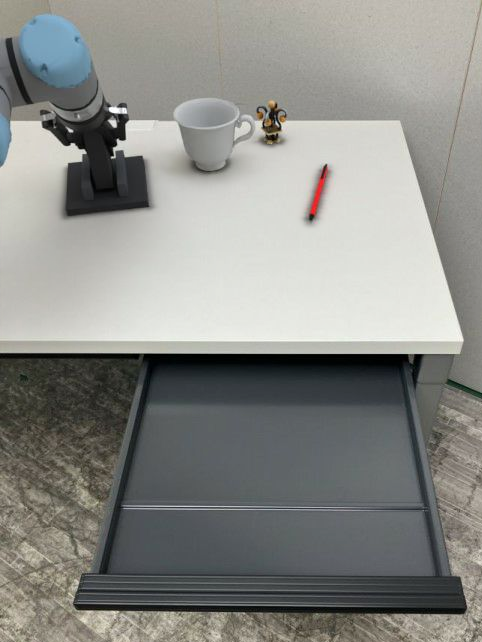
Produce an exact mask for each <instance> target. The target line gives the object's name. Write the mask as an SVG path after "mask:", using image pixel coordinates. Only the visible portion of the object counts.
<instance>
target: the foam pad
mask: <svg viewBox="0 0 482 642" xmlns="http://www.w3.org/2000/svg"><path fill="white" fill-rule="evenodd" d="M82 134H83V138H84V142H85V146H86V150H87V153H86V154H88V158H89V162H90V166H91V170H92V174H93V178H94V182H95V185H96V189H106V188H114V182H113V164H112V157H110V155H109V152H108V150H107V148H106V145H105V139H104V137H103V136H102V134H101V133H100V132H96V130H95V129H94V130H91V131H88V132H82Z"/></svg>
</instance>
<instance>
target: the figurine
mask: <svg viewBox="0 0 482 642" xmlns="http://www.w3.org/2000/svg"><path fill="white" fill-rule="evenodd" d="M267 105H268V108H269V109H270V110H268V109H267V107H266V106H265V105H262V104H259V105H257V106H256V108H255V112H256V118H257V119H258V120H262V119H263V118H264V119H263V120H262V122H261V125H262V126H260V129H261V131H262V132H264V133H265V137H264V138H263V141H266V144H268V145H272V144H274V143H278V144H279V142H280V141H281V139H280V138H279V133H283V132H284V130H283V129H282V124H284V123H286V122H287V118H288V110H287V109H285V108H281V107H280V108H278V102H277V101H274V100H269V101H268V103H267ZM260 109H263V111H264V112H265V117H264V113H263V111H259V110H260ZM280 112H283V113H284V114H281V115H280V116H279V113H280Z"/></svg>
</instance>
